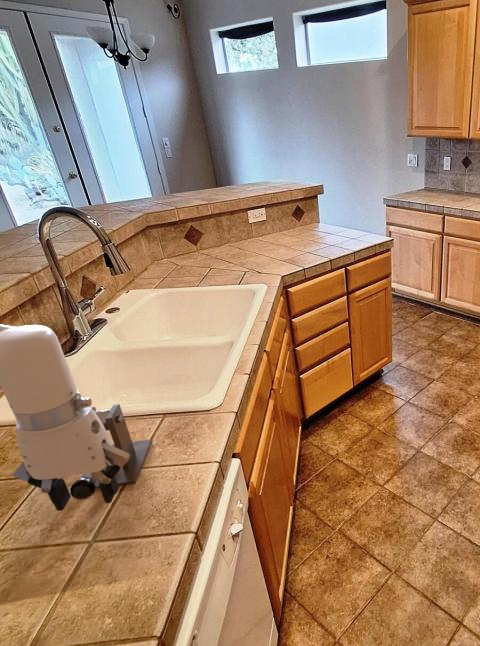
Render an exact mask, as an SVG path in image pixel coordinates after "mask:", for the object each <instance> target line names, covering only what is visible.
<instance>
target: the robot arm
mask: <svg viewBox="0 0 480 646" xmlns="http://www.w3.org/2000/svg"><path fill="white" fill-rule="evenodd" d="M0 388H1V391H2V392H3V395H4V396H5V399H6V401H7V403H8V405H9V407H10V409H11V411H12V413H13V416H14V418H15V420H16V422H17V423H16V425H15V436H16V442H17V447H18V451H19V454H20V457H21V459H22V462H21V463H20V465H18V467H17V468H16V469H15V471H14V472H13V473H12V476H13V478H16V479H18V480H21V481H23V482H27V484H29V485H31V486H34V487H36V488H39V489H40V491H41V492H42V493H43V494H44V493H45V494H47V495H48V497H49V499H50V501H51V504H53V505H54V507H55V509H56V511H57V512H62V511H63V510H65V508H66V506H67V504H68V502H69V501H70V499H71V497H72V495H71V493H70V489H69V488H68V486H67V484H66V482H65V479H63V478H66V477H75V476H80V475H81V476H82V474H88V473H92V474H93V475H94V476H95V477H96V478H97V479H98V480H100V481H101V483H100V485H99V488H100V489H99V490H100V493H101V495H102V498H103V500H104V503H105V504H112V502H113V500H114V497H115V495H117V494H118V492H119V486H118V485H117V482H116V479H115V477H114V476H115V475H116V474H117V473H118V472H119V470H120V469H121V468H122V467H123V466H124V465H125V464H126V462H127V461H128V459H129V457H130V454H129V453H127V452H125V451H122V450H120V449H118V448H116V447H114V446H113V445H112V444H113V443H112V440H111V437H110V436H109V434H108V431H107V430H105V428H104V426H103V424H102V422H101V421H100V419H99V417H98V416H97V415H96V413H95V412H94V411H93V409H92V408H91V407H92V404H93V401H92V399H91V398H90V397H86V398H85V397H82V395H81V393H80V391H78V388H77V386H76V383H75V380H74V377H73V375H72V373H71V370H70V366H69V364H68V361H67V359H66V356H65V354H64V351H63V348H62V346H61V343H60V340H59V338H58V335H57V334H56V333H55V331H53V329H51V328H49V327H47V326H45V325H39V324H30V325H20V326H11V325H5V324H0ZM105 456H106V457H109V458H111V459H113V460H115V461H114V462H113V464H111V463H110V462H108V461H107V460H106V459H105ZM102 469H103V470H104V471H105V472H104V471H103V470H102Z"/></svg>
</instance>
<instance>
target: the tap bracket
mask: <svg viewBox="0 0 480 646" xmlns="http://www.w3.org/2000/svg"><path fill="white" fill-rule="evenodd" d="M91 408H92V409H93V411H94V412H95V411H97V408H96V406H91ZM109 411H110V412H109V413H108V415H107V417H106V418H105V419H106V422H107V425H108V428H109V430H108V431H109V433H110V436H111V439H112V442H113V443H112V445H113V446H114V447H116V448H118V449H120V450H122V451H125V452H127V453H129V454H130V457H129V459H128V461H127V462H126V464H125V465H124V466H123V467H122V468H121V469H120V470H119V472H118V473H117V474H116V475H115V476H114V477H115V479H116V482H117V485H118V487H121V486H128V485H135V484H136V483H137V481H138V479H139V477H140V473H141V471H142V470H143V469H142V468H143V466H144V464H145V462H146V459H147V456H148V454H149V453H150V450H151V447H152V444H153V442H154V441H153V438H149V439H142V440H135V441H133V440H132V438H131V435H130V432H129V429H128V428H129V427H128V426H127V423H126V420H125V416H124V413H123V411H122V407H121V404H120V403H117V404H113V405H112V406H111V408H110V409H109ZM105 459H106V460H107V461H108V462H110V463H111V464H113V462H114V461H115V460H113V459H111V458H109V457H106V456H105ZM102 470H103V469H102ZM103 471H104V470H103ZM104 472H105V471H104ZM92 479H93V480H94V481H95V483H96V486H97V487H96V490H100V488H99V485H100V483H101V481H100V480H98V479H97V478H96V477H95V476H94V475H92Z"/></svg>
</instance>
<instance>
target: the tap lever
mask: <svg viewBox="0 0 480 646" xmlns="http://www.w3.org/2000/svg"><path fill="white" fill-rule="evenodd" d="M109 412H110V409H105V410H96V411H95V413H96V415H97V416H98V417H99V419H100V421H101V422H102V424H103V426H104V428H105V430H106V431H109V428H108V425H107V422H106V419H105V418H106V417H107V415H108V413H109ZM92 475H93V474H92V473H88V474H81V478H79V479H76V480H75V481H74V482H73V483H72V485H71V486H70V488H69V493H70V495H71V497H72V498H73V499H75V500H79V501H85V500H87V499H90V498H91V497H92V496H94V494H95V493H96V491H97V489H96V487H97V486H96V483H95V481H94V480H93V479H92Z"/></svg>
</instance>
